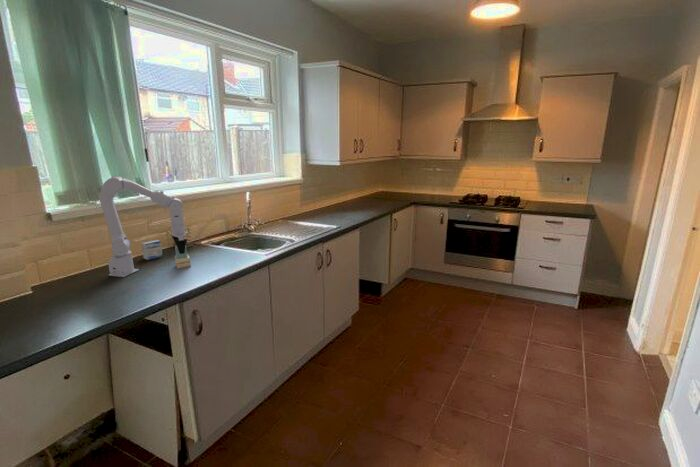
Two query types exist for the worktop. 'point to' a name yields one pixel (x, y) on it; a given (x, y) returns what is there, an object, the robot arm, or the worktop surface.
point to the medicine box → (152, 249)
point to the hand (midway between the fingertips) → (180, 251)
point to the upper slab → (182, 260)
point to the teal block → (180, 254)
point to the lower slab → (183, 265)
